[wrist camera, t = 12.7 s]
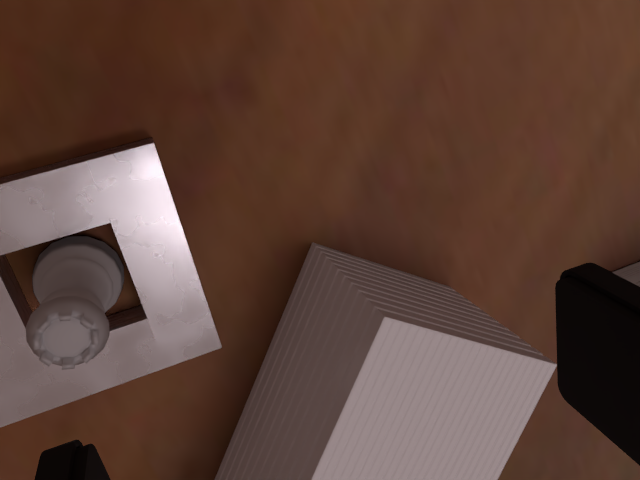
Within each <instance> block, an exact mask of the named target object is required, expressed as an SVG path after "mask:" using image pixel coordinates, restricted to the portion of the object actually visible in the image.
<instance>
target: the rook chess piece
mask: <svg viewBox="0 0 640 480" xmlns="http://www.w3.org/2000/svg"><path fill="white" fill-rule="evenodd" d="M32 281H33V292H34V294H35V296H36V298H37V299H38V301H39V303H40V306H39V307H38V308H37V309H36V310H35V311H34V312H33V313H32V314H31V316H30V318H29V320H28V323H27V325H26V340H27V343H28V344H29V346H30V348H31V349H32V351H33V353H34V354H35V355H37V356H38V357H40V358H39V360H40V361H41V362H43V363H44V364H46V365H47V366H50V365H51V363H52V364H56V365H60V366H62V370H66V369H75V365H79V364H82V363H84V362H85V363H87V362H89V361H90V360H91V359H93V358H94V357H95V356H96V355H97V354H99V353H100V352H101V351H102V350H103V349H104V347H105V345H106V343H107V340H108V338H109V336H110V333H109V321H108V319H107V317H106V315H105V312H106V311H107V310H108V309H110V308H111V307H112V306H113V305H114V304H115V303H116V302H117V299H118V297H119V295H120V293H121V290H122V288H123V283H124V267H123V264H122V262H121V260H120V258H119V256H118V254H117V253H116V252H115V251H114V250H113V249H112V248H110V247H109V246H108V245H107V244H106V243H104V242H102V241H99V240H96V239H94V238H91V237H88V236H74V237H66V238H64V239H61V240H59V241H56V242H53V243H52V244H50V245H49V246H48V247H47V248H46V249H45V250H44V251H43V252H42V253H41V254H40V255H39V257H38V259H37V262H36V264H35V267H34V269H33V275H32Z"/></svg>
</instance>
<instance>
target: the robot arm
mask: <svg viewBox="0 0 640 480" xmlns="http://www.w3.org/2000/svg"><path fill="white" fill-rule="evenodd" d="M555 292H556V332H557V372H558V387H559V390H560V393H561V395H562V396H563V398H564V399H565V400H566V401H567V402H568V403H569V404H570V405H571V406H572V407H573V408H574V409H576V410H577V411H578V412H579V413H580V414H581V415H582V416H584V417H585V418H586V419H587V420H588V421H589V422H590V423H592V424H593V425H594V426H595V427H596V428H597V429H599V430H600V431H601V432H602V433H603V434H604V435H605V436H607V437H608V438H609V439H610V440H611V441H612V442H613V443H615V444H616V445H617V446H618V447H619V448H620V449H621V450H623V451H624V452H625V453H626V454H627V455H628V456H629V457H631V458H632V459H633V460H634V461H635V462H636V463H637V464H639V465H640V287H639V286H637V285H635V284H633V283H632V282H630V281H628V280H626V279H624V278H622V277H620V276H618V275H616V274H614V273H612V272H610V271H608V270H606V269H604V268H602V267H600V266H598V265H596V264H594V263H586V264H583V265H580V266H577V267H574V268H571V269H568V270H565V271H564V272H563V273H562V274H561V276H560V280H559V281H557V283H556V287H555ZM35 480H110V478H109V475H108V473H107V471H106V469H105V467H104V465H103V463H102V461H101V458H100V456H99V454H98V452H97V450H96V448H95V446H94V445H93V444H88V445H85V446H83V445H82V443H81V442H80V441H79V440H74V441H71V442H68V443H65V444H62V445H59V446H57V447H54V448H51V449H48V450H45V451H43V452H42V454H41V456H40V459H39V464H38V468H37V472H36V476H35Z"/></svg>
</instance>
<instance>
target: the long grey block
mask: <svg viewBox="0 0 640 480" xmlns="http://www.w3.org/2000/svg"><path fill="white" fill-rule="evenodd" d="M508 330H509V329H507V328H506V327H505V326H503V325H502V324H499V323H498V321H496V320H495V319H494V318H492V317H490V316H489V315H488V314H487V313H485V312H484V311H483V310H480V308H479V307H477V306H476V305H474V304H472V303H471V302H470V301H469V300H468V299H466V298H464V297H463V296H462V295H461V294H459V293H458V292H456V291H455V290H454V289H452V288H451V287H449V286H446V285H443V284H440V283H437V282H434V281H431V280H427V279H424V278H421V277H418V276H415V275H412V274H409V273H406V272H403V271H400V270H396V269H393V268H390V267H387V266H384V265H381V264H378V263H375V262H372V261H369V260H366V259H362V258H359V257H356V256H353V255H350V254H347V253H344V252H341V251H338V250H335V249H331V248H328V247H325V246H322V245H319V244H316V243H313V242H312V244H311V247H310V249H309V252H308V254H307V256H306V259H305V261H304V264H303V266H302V269H301V271H300V273H299V276H298V278H297V281H296V283H295V286H294V288H293V290H292V293H291V295H290V298H289V300H288V303H287V305H286V307H285V310H284V312H283V315H282V317H281V320H280V322H279V324H278V327H277V329H276V332H275V334H274V337H273V339H272V341H271V344H270V346H269V349H268V351H267V353H266V356H265V358H264V361H263V363H262V366H261V368H260V370H259V373H258V375H257V378H256V380H255V383H254V385H253V387H252V390H251V392H250V395H249V397H248V400H247V402H246V404H245V407H244V409H243V412H242V414H241V417H240V419H239V421H238V424H237V426H236V429H235V431H234V434H233V436H232V438H231V441H230V443H229V446H228V448H227V451H226V453H225V455H224V458H223V460H222V463H221V465H220V467H219V470H218V472H217V475H216V477H215V480H498V478H499V476H500V474H501V472H502V470H503V468H504V466H505V464H506V462H507V460H508V458H509V456H510V455H511V453H512V451H513V449H514V447H515V445H516V443H517V441H518V439H519V437H520V435H521V433H522V431H523V430H524V428H525V426H526V424H527V422H528V420H529V418H530V416H531V414H532V412H533V410H534V408H535V406H536V405H537V403H538V401H539V399H540V397H541V395H542V393H543V391H544V389H545V387H546V385H547V383H548V381H549V380H550V378H551V376H552V374H553V372H554V370H555V368H556V366H557V364H556V363H554V362H553V361H551V360H550V359H549V358H547V357H546V356H542V355H543V354H542V353H540V352H539V351H538V350H536V349H535V348H533V347H530V346H531V345H529V344H528V343H527V342H525V341H524V340H523V339H519V337H518V336H517V335H516V334H514V333H513V332H511V331H508Z"/></svg>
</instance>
